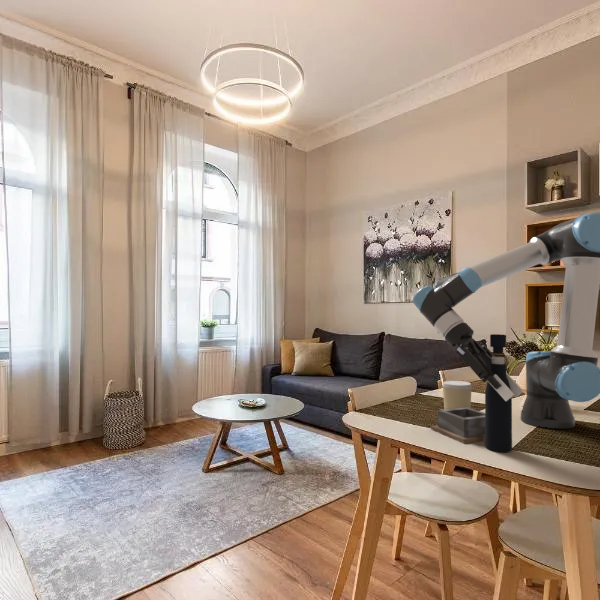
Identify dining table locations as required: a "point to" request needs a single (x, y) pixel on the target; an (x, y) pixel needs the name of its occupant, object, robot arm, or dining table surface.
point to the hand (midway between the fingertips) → (514, 396)
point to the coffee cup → (456, 394)
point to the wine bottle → (498, 403)
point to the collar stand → (461, 424)
